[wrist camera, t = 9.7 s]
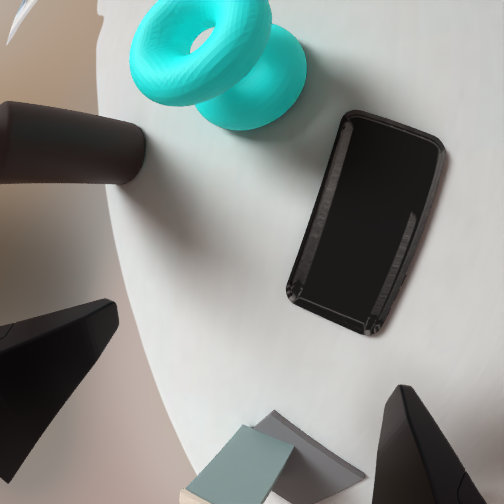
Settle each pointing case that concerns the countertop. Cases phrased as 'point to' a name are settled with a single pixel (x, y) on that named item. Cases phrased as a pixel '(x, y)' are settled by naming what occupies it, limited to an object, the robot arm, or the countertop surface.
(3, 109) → the bottle
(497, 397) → the countertop surface
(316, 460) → the mat
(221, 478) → the tea tin
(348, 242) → the phone
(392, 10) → the countertop surface
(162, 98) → the donuts
